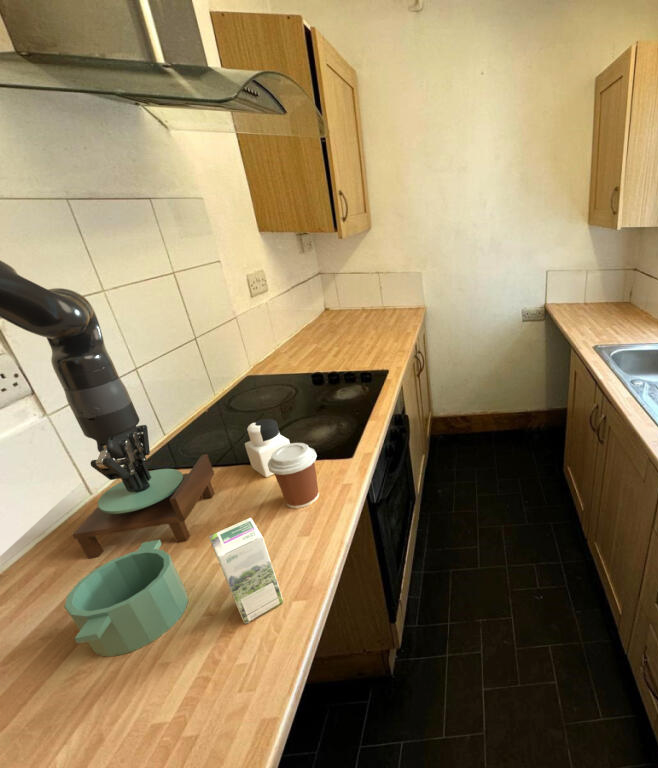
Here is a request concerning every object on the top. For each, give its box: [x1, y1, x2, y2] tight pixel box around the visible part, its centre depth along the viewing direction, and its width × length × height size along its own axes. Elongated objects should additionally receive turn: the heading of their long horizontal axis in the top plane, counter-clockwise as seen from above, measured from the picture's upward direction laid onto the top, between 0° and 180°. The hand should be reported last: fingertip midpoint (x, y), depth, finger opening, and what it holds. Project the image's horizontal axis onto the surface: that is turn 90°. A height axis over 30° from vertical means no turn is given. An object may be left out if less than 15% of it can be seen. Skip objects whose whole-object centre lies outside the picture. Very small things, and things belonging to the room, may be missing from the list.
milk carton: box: [208, 517, 284, 625], centre depth 64 cm, size 6×6×14 cm
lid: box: [97, 461, 184, 514], centre depth 79 cm, size 13×13×7 cm
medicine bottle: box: [244, 418, 291, 478], centre depth 99 cm, size 7×7×12 cm
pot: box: [64, 539, 189, 657], centre depth 63 cm, size 12×17×8 cm
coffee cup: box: [267, 442, 320, 509], centre depth 88 cm, size 9×9×12 cm
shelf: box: [71, 453, 215, 560], centre depth 82 cm, size 17×15×10 cm
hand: (140, 485), depth 80 cm, fingers closed on lid, 2 cm apart
